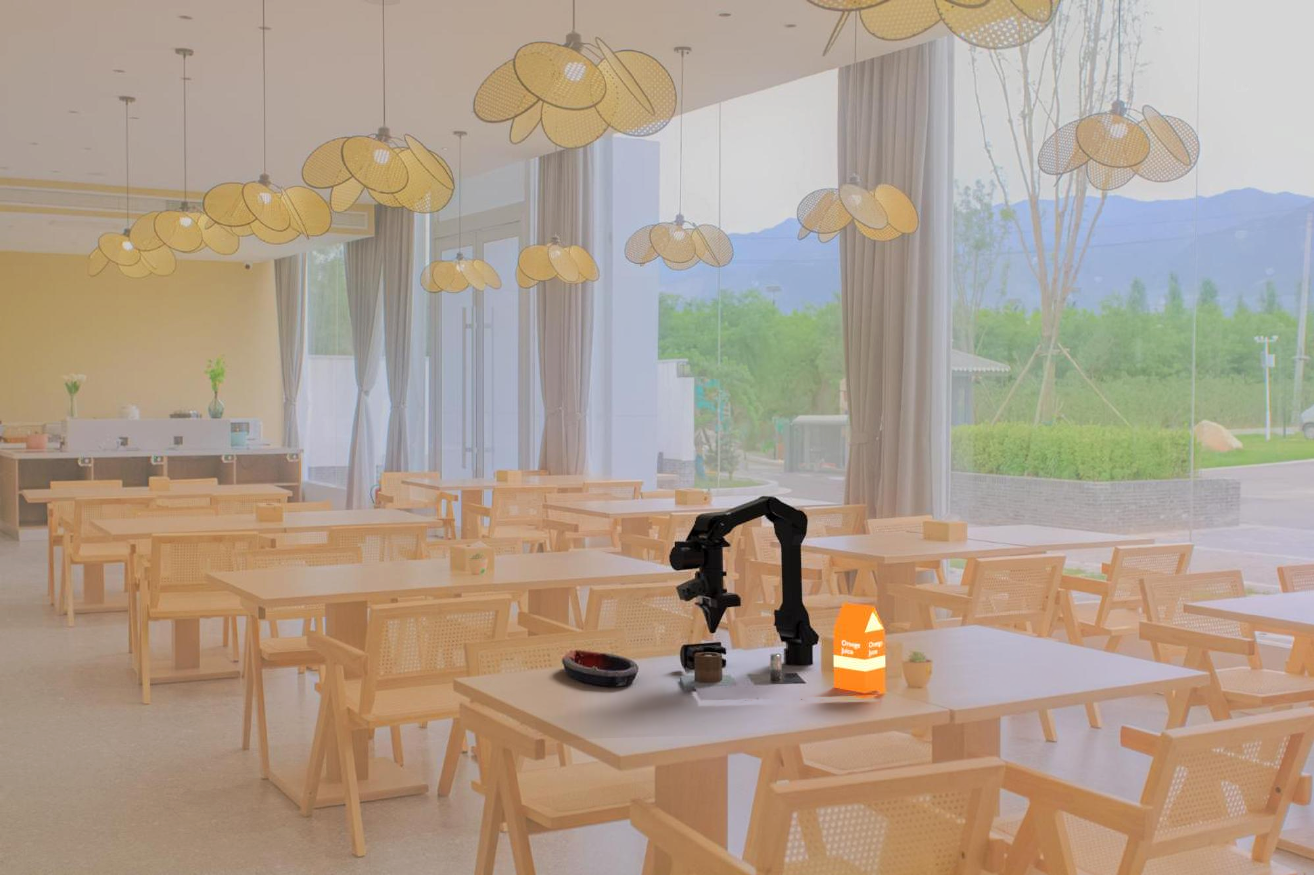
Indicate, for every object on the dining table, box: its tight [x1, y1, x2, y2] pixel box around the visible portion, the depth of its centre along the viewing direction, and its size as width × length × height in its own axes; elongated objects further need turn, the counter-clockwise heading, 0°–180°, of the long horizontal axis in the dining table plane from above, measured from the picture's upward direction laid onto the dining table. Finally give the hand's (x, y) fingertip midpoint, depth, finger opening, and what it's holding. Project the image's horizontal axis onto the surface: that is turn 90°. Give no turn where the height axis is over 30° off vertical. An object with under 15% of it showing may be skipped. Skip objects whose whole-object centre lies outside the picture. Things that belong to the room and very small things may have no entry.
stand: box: [746, 653, 807, 686], centre depth 292 cm, size 12×12×7 cm
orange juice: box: [833, 602, 886, 699], centre depth 282 cm, size 8×9×20 cm
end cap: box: [679, 641, 727, 672], centre depth 309 cm, size 10×7×7 cm
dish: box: [561, 649, 639, 687], centre depth 302 cm, size 16×31×5 cm, turn 24°
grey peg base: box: [679, 655, 738, 692], centre depth 291 cm, size 12×12×7 cm
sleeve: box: [693, 652, 723, 683], centre depth 291 cm, size 6×6×7 cm
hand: (712, 633), depth 295 cm, fingers closed
